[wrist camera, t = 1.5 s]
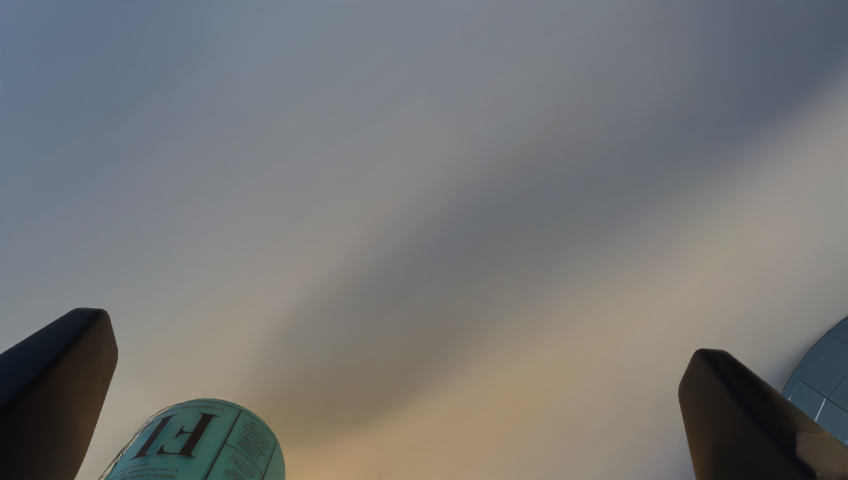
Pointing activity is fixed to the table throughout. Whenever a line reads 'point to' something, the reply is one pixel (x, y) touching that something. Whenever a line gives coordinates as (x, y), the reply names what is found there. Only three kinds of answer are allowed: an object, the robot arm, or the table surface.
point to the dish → (824, 383)
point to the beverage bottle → (202, 446)
